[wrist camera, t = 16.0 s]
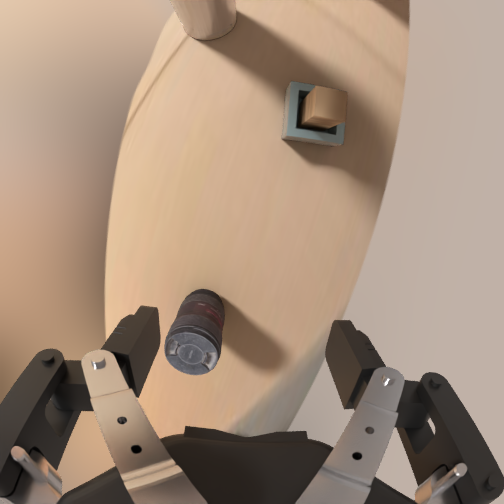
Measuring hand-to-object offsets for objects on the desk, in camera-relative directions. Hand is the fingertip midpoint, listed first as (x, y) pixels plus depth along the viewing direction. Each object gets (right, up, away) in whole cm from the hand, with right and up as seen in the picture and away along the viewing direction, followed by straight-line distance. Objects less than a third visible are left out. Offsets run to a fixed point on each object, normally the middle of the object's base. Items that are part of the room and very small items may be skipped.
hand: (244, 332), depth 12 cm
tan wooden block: (+10, +25, +27) cm, 38 cm away
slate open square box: (+10, +25, +28) cm, 39 cm away
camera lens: (-8, -6, +38) cm, 39 cm away
